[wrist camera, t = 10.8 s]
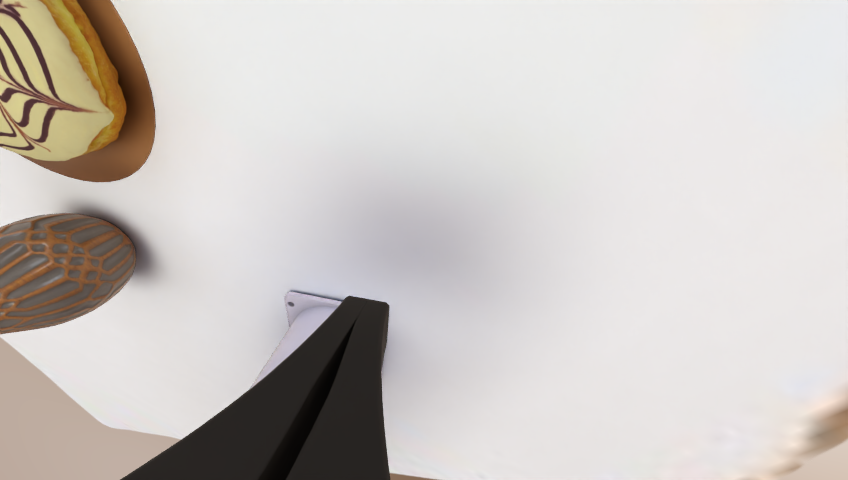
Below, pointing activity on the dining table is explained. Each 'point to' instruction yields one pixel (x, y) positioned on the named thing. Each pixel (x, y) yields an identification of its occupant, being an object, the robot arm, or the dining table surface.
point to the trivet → (140, 112)
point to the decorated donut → (55, 82)
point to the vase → (59, 269)
